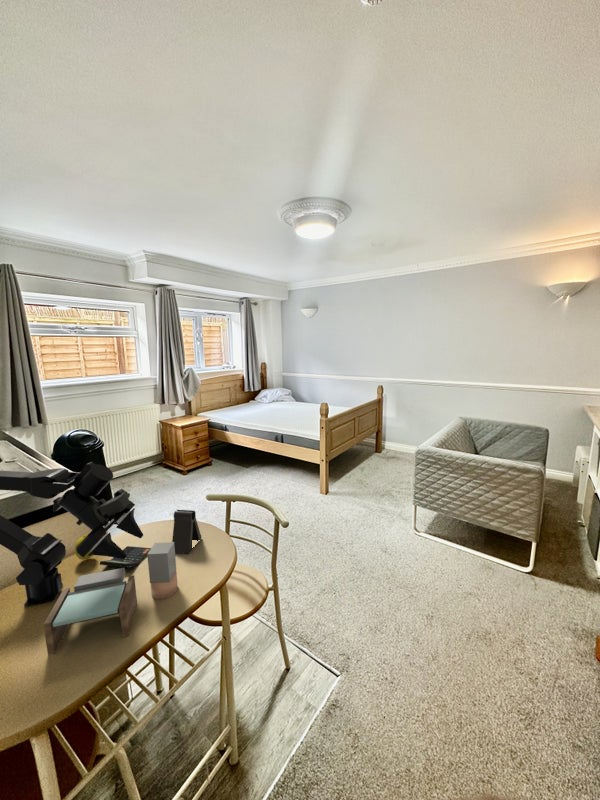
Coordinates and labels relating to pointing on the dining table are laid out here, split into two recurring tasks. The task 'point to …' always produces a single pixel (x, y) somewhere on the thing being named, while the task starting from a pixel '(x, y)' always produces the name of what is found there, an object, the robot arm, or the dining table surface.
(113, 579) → the trapdoor
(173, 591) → the pink rounded block
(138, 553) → the calculator
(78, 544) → the lemon
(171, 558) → the gray rectangular block
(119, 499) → the robot arm
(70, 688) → the dining table surface
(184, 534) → the dark folding easel stand
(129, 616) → the frame
